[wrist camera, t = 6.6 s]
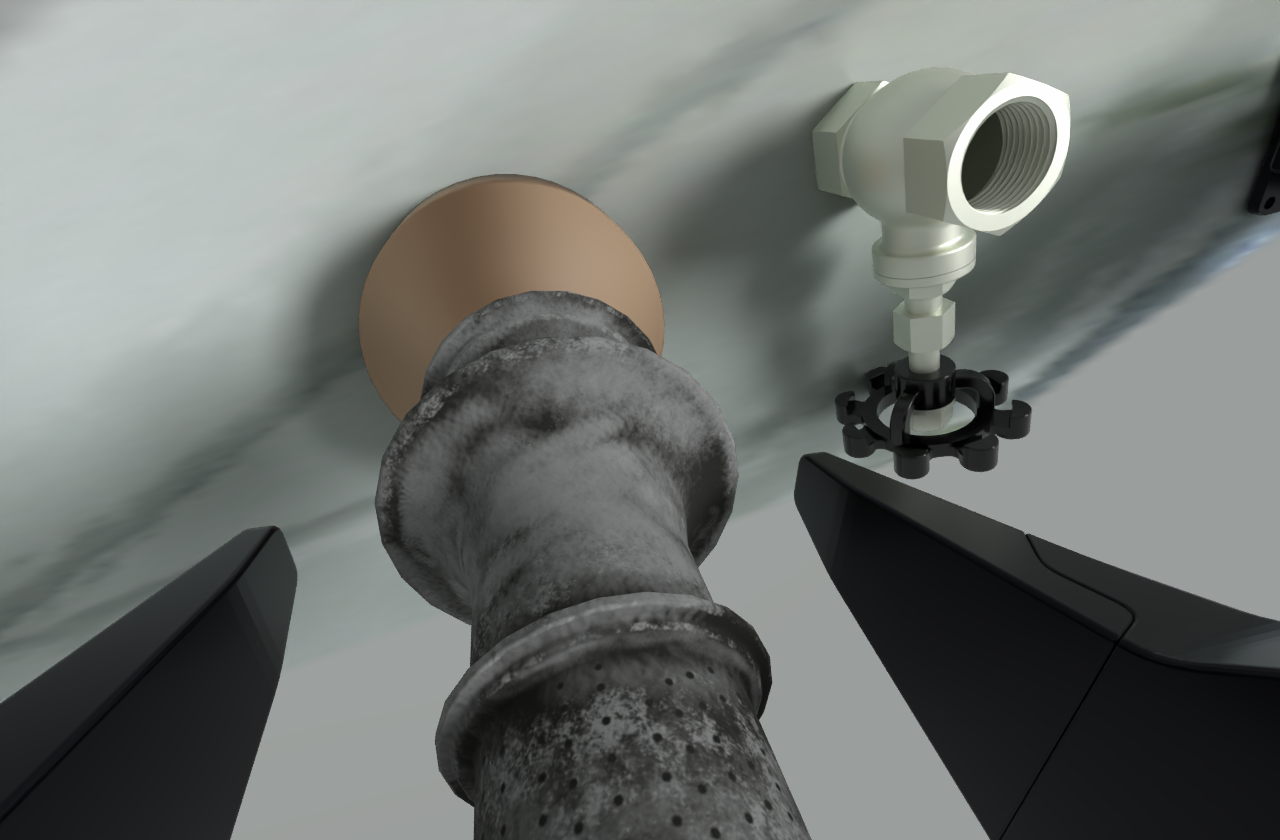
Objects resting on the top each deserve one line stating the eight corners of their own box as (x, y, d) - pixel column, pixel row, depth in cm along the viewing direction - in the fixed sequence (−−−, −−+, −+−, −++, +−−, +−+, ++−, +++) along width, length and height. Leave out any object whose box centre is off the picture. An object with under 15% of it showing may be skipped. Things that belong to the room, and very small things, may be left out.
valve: (758, 109, 18) (805, 414, 24) (880, 110, 13) (900, 506, 19) (945, 43, 18) (944, 361, 25) (1145, 15, 13) (1078, 436, 19)
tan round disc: (619, 146, 18) (638, 151, 15) (663, 396, 22) (681, 427, 20) (322, 209, 17) (298, 225, 14) (432, 459, 21) (426, 498, 19)
